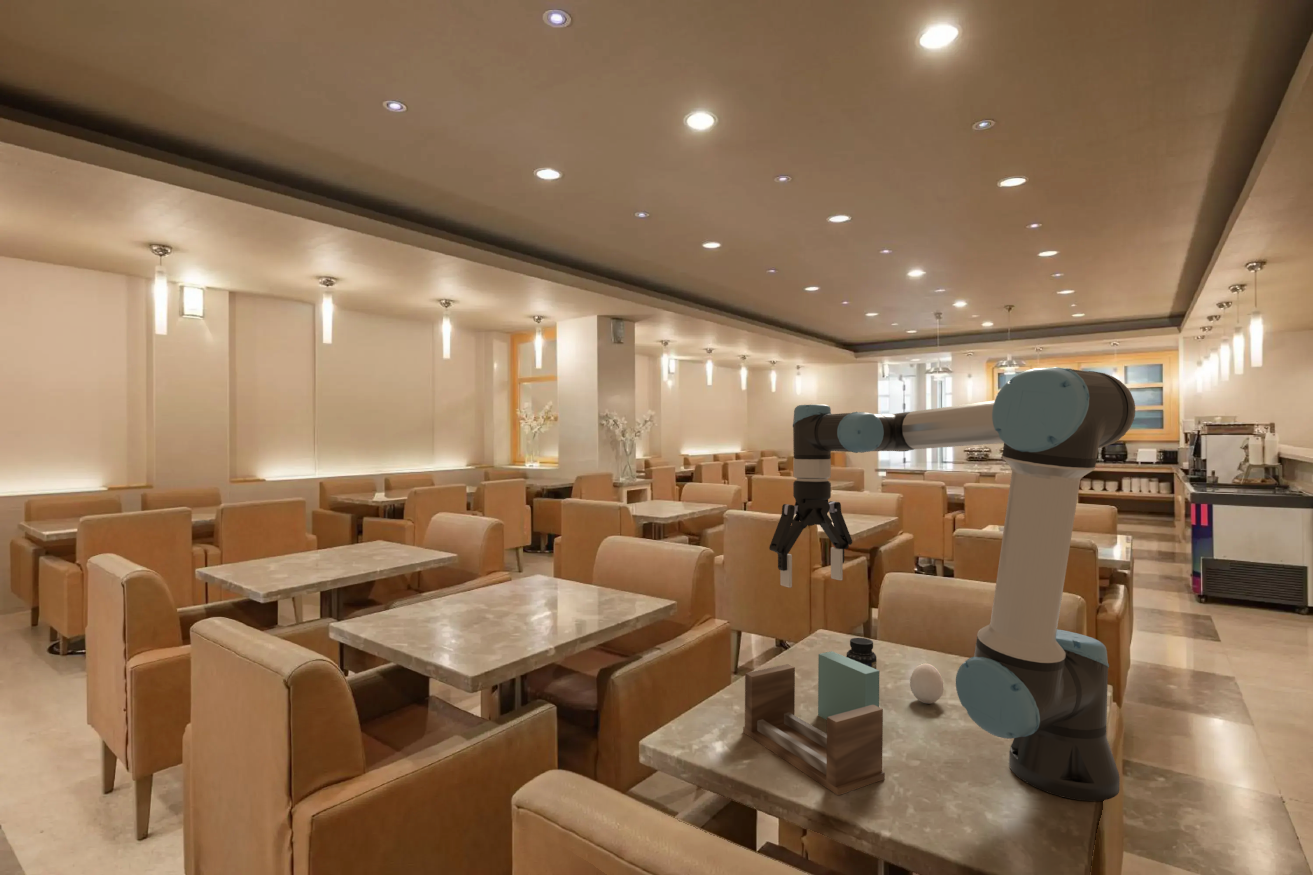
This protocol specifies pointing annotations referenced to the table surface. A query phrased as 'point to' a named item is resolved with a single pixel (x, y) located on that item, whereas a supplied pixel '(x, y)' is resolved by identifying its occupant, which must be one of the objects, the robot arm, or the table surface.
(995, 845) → the table surface
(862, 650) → the pill bottle
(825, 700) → the green rectangular box
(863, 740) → the wooden desk organizer
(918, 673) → the egg
